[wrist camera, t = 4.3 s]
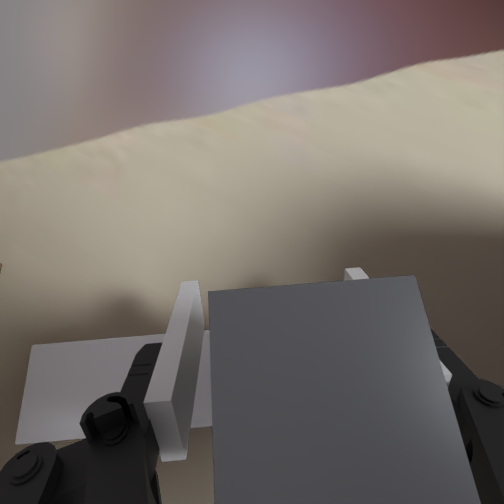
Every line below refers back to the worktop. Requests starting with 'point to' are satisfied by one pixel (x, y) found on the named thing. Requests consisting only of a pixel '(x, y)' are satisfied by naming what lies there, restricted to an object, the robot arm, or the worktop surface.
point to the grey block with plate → (292, 395)
